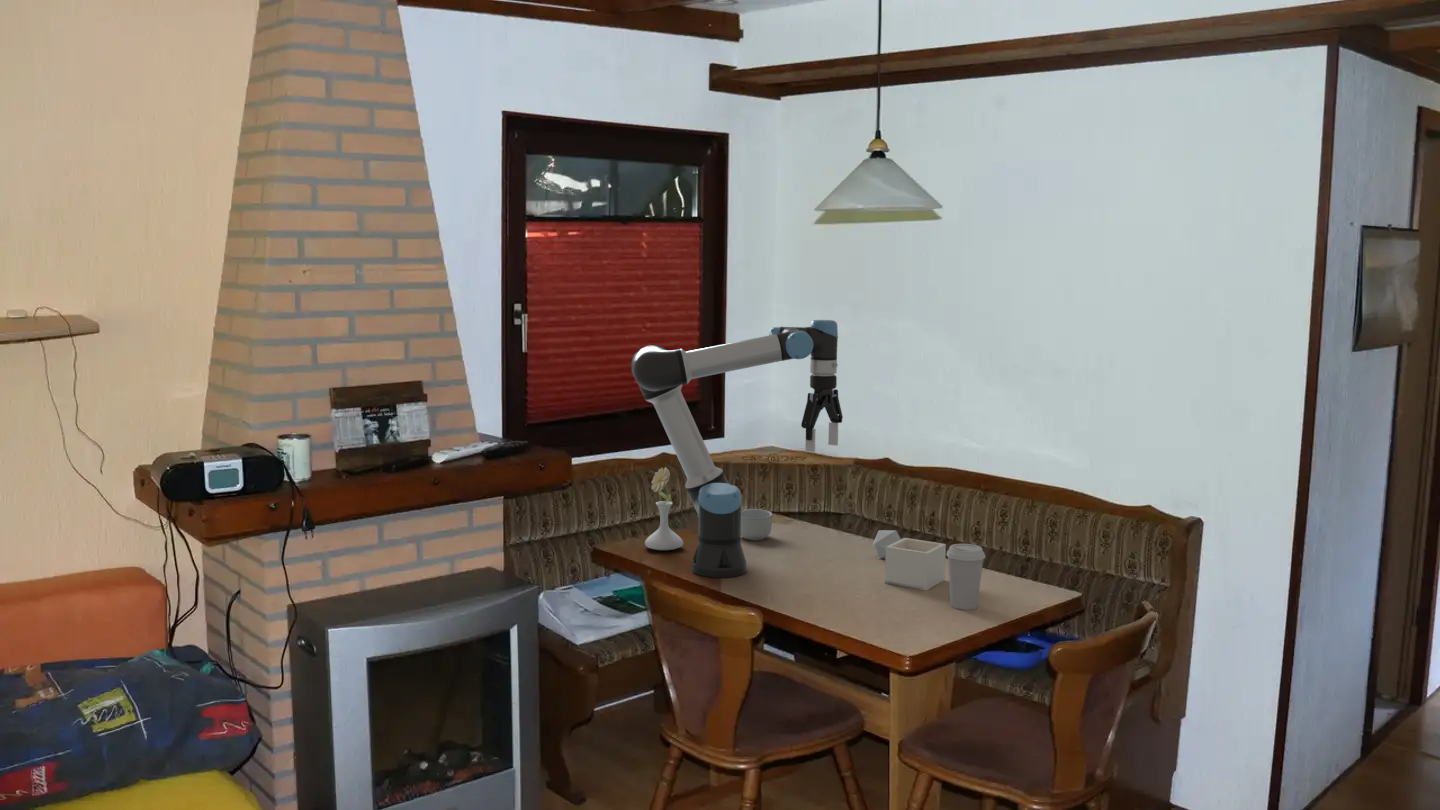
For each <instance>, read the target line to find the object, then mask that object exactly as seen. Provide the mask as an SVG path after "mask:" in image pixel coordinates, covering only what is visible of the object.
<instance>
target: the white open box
mask: <svg viewBox="0 0 1440 810" xmlns="http://www.w3.org/2000/svg"><path fill="white" fill-rule="evenodd" d="M946 547H947V544H946V543H941V542H935V541H928V540H921V539H916V538H908V537H903V538H901V540H899V541H897V542H895V543H893V544H891V545H888V546H886V558H885V559H884V561H885V563H884V566H885V567H884V584H886V585H893V586H899V587H903V588H910V589H915V590H920V591H926V592H927V591H929V590H930V589H932V588H934V587H935V586H937V585H939V584H941V583H943V582H944V581H945V577H946V553H947V551H946V550H947V549H946Z"/></svg>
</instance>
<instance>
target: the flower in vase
mask: <svg viewBox="0 0 1440 810" xmlns="http://www.w3.org/2000/svg"><path fill="white" fill-rule="evenodd" d="M670 475H671V472H670V470H669V468H667V467H666V466H665V467H664V468H663V467H661V468H659V469H658V471H655V472H654V476H653V477H652V480H651V484H652V485H651V487H650V489H651V490H652V491H653V493H658V495H659V496H660V497H661V498H662V499H665V500H664V501H663V500H662V501H661V500H660V501H657V502H655V505H656V506H657V508H658V510H659V518H660V519H659V521H660V523H659V527H658V529H656V530H655V531H654V532H653V533H652V534H650V535H649V536H648V537H647V538H646V540H645V541H644V545H645V546H646V547H647V548H649V549H651V550H656V551H670V550H677V549H679V548H681V547H682V546H683V544H684V540H683V539H682V538H681V536H679V535H678V534H677V533H675V532H674V531H673V530H672V529H671V528H670V527H669V522H668V521H669V512H670V508H671V506H673V502H672V498H671V497H672V496H671V495H672V493H669V489H668V487H667V483H669V482H670ZM664 488H665V490H666V494H665V492H663V491H662V490H664Z"/></svg>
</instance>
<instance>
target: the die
mask: <svg viewBox="0 0 1440 810" xmlns="http://www.w3.org/2000/svg"><path fill="white" fill-rule="evenodd" d="M901 539H902V538H901V537H900V535H899V533H898V531H897V530H893V529H892V530H891V529H888V530H886V529H885V530H884V529H883V530H882V529H881V530H879V529H878V531H877V533H876V536H875V538H874V540H873V543H872V547H873V549H874V551H875V553H876V554H877V556H878V558H879V560H880V559H883V560H885V558H886V546H888V545H891V544H893V543H895V542H897V541H899V540H901Z"/></svg>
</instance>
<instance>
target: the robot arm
mask: <svg viewBox="0 0 1440 810" xmlns="http://www.w3.org/2000/svg"><path fill="white" fill-rule="evenodd" d="M838 338H839V336H838V323H837V321H835V320H832V319H813V320H812V321H811V322H810V326H806V327H805V326H801V327H799V326H776V327H775V326H774V327H773V326H772V327H771V328H770V329H769V331H768V335H764V336H760V337H755V338H749V339H745V340H739V341H734V342H728V343H725V344H724V343H723V344H717V345H713V346H709V347H704V348H698V349H693V350H692V349H691V350H688V351H686V350H684V349H682V348H678V349H673V350H670V349H669V350H667V349H665V347H662V346H659V345H655V344H654V345H652V344H651V345H646V346H644V347H642V348H640V349H639V350H637V352H636V353H635V354H634V355H633V357H632V360H631V363H630V364H631V365H630V366H631V373H632V375H633V378H634V379H635V382H636V383H637V385H638V387H639V389H640V392H641V395H642V396H643V398H644V400H645V401H646V402H648V403H651V404H653V407H654V409H655V411H656V413H657V416H658V418H659V420H660V422H661V424H662V427H663V428H664V431H665V433H666V436H667V437H668V440H669V442H670V444H671V446H672V448H673V450H674V453H675V455H676V456H677V459H678V462H679V464H680V466H681V467H682V470H683V472H684V474H685V477H686V479H687V480H686V482H685V485H684V487H685V490H686V492H687V493H688V497H689V498H690V500H691V502H692V505H693V508H694V510H695V512H696V513H697V517H698V530H697V531H698V536H697V537H698V540H697V541H698V542H697V546H696V549H695V551H694V555H693V558H692V561H691V572H692V573H694V574H696V575H698V576H702V577H708V578H731V577H732V578H733V577H737V576H742V575H743V574H746V572H747V571H748V569H747V567H748V566H747V565H748V563H747V560H746V557H745V553H744V550H743V547H742V542H741V511H742V502H743V499H742V494H741V490H740V489H739V487H738V486H736V485H733V484H731V483H729V481H728V479H727V477H726V474H725V473H724V470H723V468H720V467H717V466H716V465H715V463H714V461H713V460H712V457H711V455H710V453H709V451H708V448H707V446H706V443H705V441H704V440H703V439H704V438H703V437H702V435H701V433H700V431H699V428H698V425H697V424H696V421H695V419H694V417H693V415H692V412H691V411H690V408H689V406H688V404H687V402H686V399H685V397H684V396H683V393H682V388H683V386H684V385H688V384H689V383H690V382H691V380H694V379H697V378H698V379H699V378H703V377H709V376H713V375H718V374H723V373H729V372H733V371H737V370H743V369H748V368H752V367H757V366H762V365H763V366H764V365H768V364H773V363H778V362H784V361H789V360H790V361H791V360H803V359H805V358H807V357H809V356H810V365H809V366H810V367H809V369H810V370H809V371H810V373H811V374H810V376H809V378H810V379H809V387H810V388H811V389H812V390H813V392H808V393H807V399H806V400H807V401H806V405H805V409H804V413H803V416H802V421H801V424H800V425H801V427H802V429H805V445H804V446H805V447H804V448H805V449H804V450H805V452H811V453H815V452H816V433H817V432H816V428H815V426H816V423H817V421H818V418H819V416H820V413H821V411H822V410H823V409H824V408H825V411H826V414H827V416H828V418H829V422H828V444H827V445H828V446H829V445H830V446H838V445H839V423H840V424H842V422H843V418H844V417H843V414H842V413H843V411H842V408H841V403H840V399H839V390H838V389H836V388H837V382H838V381H837V380H838V379H837V375H836V374H837V373H838V372H837V368H838V366H839V365H838Z"/></svg>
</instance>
